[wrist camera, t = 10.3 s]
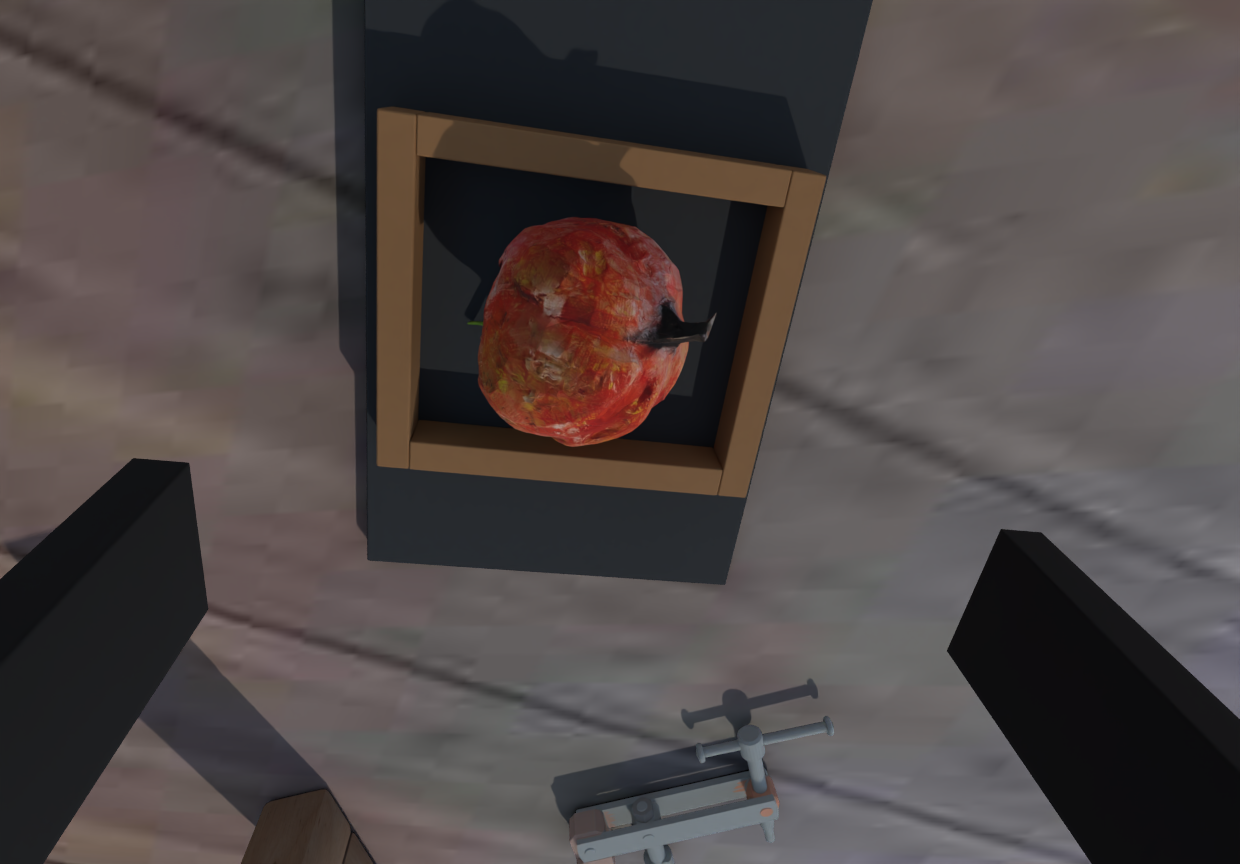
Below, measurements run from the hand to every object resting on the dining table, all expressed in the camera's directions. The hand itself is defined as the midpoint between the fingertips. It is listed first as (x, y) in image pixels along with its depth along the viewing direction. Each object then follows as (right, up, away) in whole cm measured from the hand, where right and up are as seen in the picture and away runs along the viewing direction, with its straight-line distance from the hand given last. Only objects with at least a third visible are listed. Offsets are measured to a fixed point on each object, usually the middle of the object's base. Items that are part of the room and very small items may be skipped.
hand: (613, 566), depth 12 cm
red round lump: (-2, +7, +15) cm, 17 cm away
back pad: (-1, +7, +16) cm, 18 cm away
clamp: (+5, -18, +29) cm, 34 cm away
